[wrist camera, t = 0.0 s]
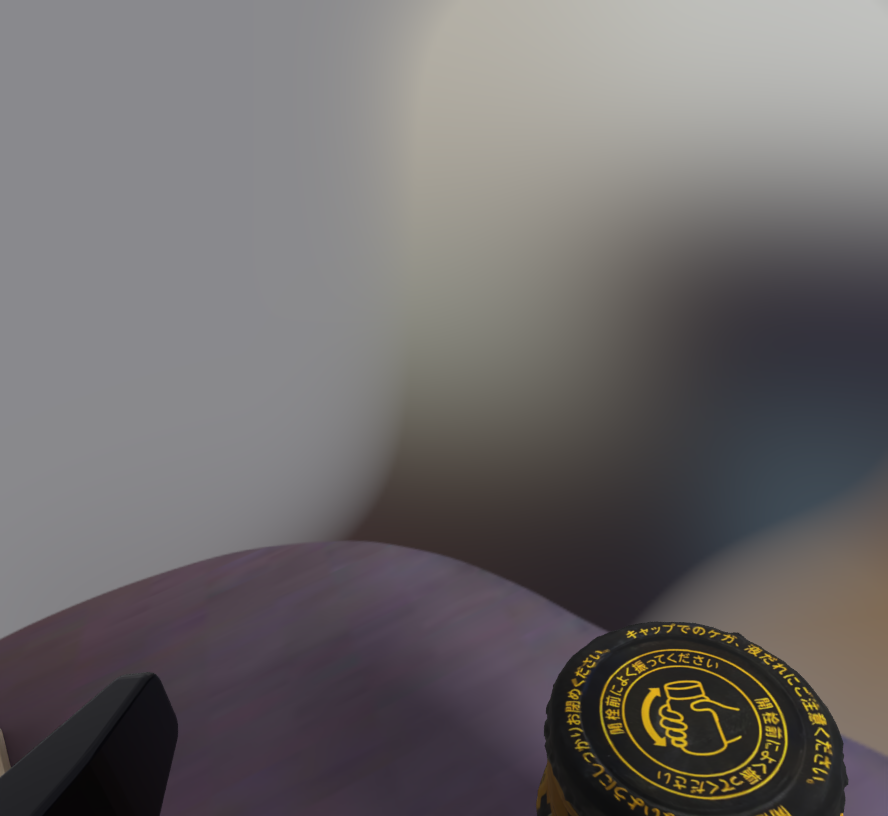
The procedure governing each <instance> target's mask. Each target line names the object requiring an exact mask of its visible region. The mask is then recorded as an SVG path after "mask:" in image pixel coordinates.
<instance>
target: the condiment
mask: <svg viewBox="0 0 888 816" xmlns="http://www.w3.org/2000/svg"><path fill="white" fill-rule="evenodd" d="M546 714H547V720H546V721H545V725H544V736H545V739H546V743H545V748H546V752H547V766H546V768H545V771H544V774H543V777H542V780H541V782H540V786H539V789H538V798H537V802H536V807H537V816H843V813H844V806H845V801H846V800H845V793H844V788H845V787H846V786H847V785H848V777H847V774H846V767H845V764H844V762H843V759H844V754H843V741H842V738H841V735H840V732H839V730H838V727H837V725H836V722H835V721H834V719H833V717H832V715H831V713H830V712H829V710H828V708H827V707H826V705H825V704H824V703H823V702H822V700H821V699H820V698H819V696H818V695H817V694H816V692H815V691H814V690H813V689H812V687H811V686H810V685H809V684H808V683H807V681H806V680H805V679H804V678H803V677H802V676H801V675H800V674H799V673H798V672H797V671H795V670H794V669H792V668H791V667H790V666H788V665H787V664H786V663H785V662H784V661H782V660H781V659H779V658H777V657H776V656H774V655H772V654H771V653H769V652H767V651H766V650H764V649H763V648H762V647H760V646H758V645H756V644H754V643H752V642H750V641H748V640H746V638H744V637H743V636H742V635H741V634H739V633H728V632H723V631H720V630H718V629H715V628H713V627H709V626H705V625H700V624H696V623H684V622H648V623H640V624H635V625H630V626H627V627H625V628H622V629H620V630H617V631H612V632H609V633H607V634H604V635H602V636H599V637H597V638H595V639H594V640H592V641H591V642H590V643H589V644H588V645H587V646H585V647H584V648H582V649H581V650H580V651H579V652H577V653H576V654H575V655H573V656H572V657H571V659H570V660H569V661H568V662H567V664H566V665H565V667H564V668H563V670H562V671H561V673H560V674H559V676H558V678H557V680H556V682H555V683H554V685H553V690H552V694H551V699H550V700H549V702H548V704H547V708H546Z"/></svg>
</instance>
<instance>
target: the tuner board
mask: <svg viewBox="0 0 888 816" xmlns="http://www.w3.org/2000/svg"><path fill="white" fill-rule="evenodd" d="M10 768H11V766H10V762H9V758H8V754H7V750H6V746H5V742H4V737H3V733H2V731H1V729H0V777H1V776H2V775H3V774H4V773H5V772H7V771H8V770H9V769H10Z"/></svg>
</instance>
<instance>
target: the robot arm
mask: <svg viewBox="0 0 888 816" xmlns="http://www.w3.org/2000/svg"><path fill="white" fill-rule="evenodd" d="M177 737H178V723H177V718H176V715H175V713H174V710H173V708H172V706H171V703H170V701H169V699H168V696H167V694H166V692H165V689H164V687H163V685H162V682H161V680H160V678H159V677H158V676H157V675H156V674H154V673H151V672H146V673H136V674H126V675H123V676H120V677H118V678H117V679H116V680H114V681H113V682H112V683H111V684H109V685H108V686H107V687H106V688H105V689H103V690H102V691H101V692H100V693H99V694H98V695H96V696H95V697H94V698H93V699H92V700H90V701H89V702H88V703H87V704H86V705H85V706H83V707H82V708H81V709H80V710H79V711H77V712H76V713H75V714H74V715H73V716H72V717H70V718H69V719H68V720H67V721H66V722H64V723H63V724H62V725H61V726H60V727H59V728H57V729H56V730H55V731H54V732H53V733H51V734H50V735H49V736H48V737H47V738H46V739H44V740H43V741H42V742H41V743H40V744H38V745H37V746H36V747H35V748H34V749H33V750H31V751H30V752H29V753H28V754H27V755H26V756H24V757H23V758H22V759H21V760H20V761H18V762H17V763H16V764H15V765H14V766H13V767H11V768H10V769H9V770H8V771H7V772H5V773H4V774H3V775H2V776H1V777H0V816H160V812H161V807H162V803H163V799H164V794H165V790H166V786H167V781H168V777H169V773H170V768H171V764H172V760H173V755H174V751H175V747H176V743H177Z"/></svg>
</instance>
